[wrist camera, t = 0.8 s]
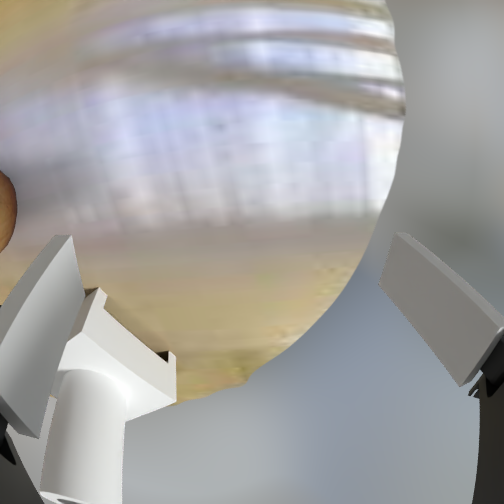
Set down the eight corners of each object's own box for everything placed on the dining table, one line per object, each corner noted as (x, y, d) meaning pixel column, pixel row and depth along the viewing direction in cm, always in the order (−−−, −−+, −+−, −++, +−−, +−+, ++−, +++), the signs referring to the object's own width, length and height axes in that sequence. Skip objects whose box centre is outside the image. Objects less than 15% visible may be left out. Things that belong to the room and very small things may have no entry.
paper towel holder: (175, 356, 49) (185, 520, 23) (110, 389, 51) (100, 521, 25) (98, 287, 40) (45, 476, 14) (41, 334, 42) (-6, 476, 16)
